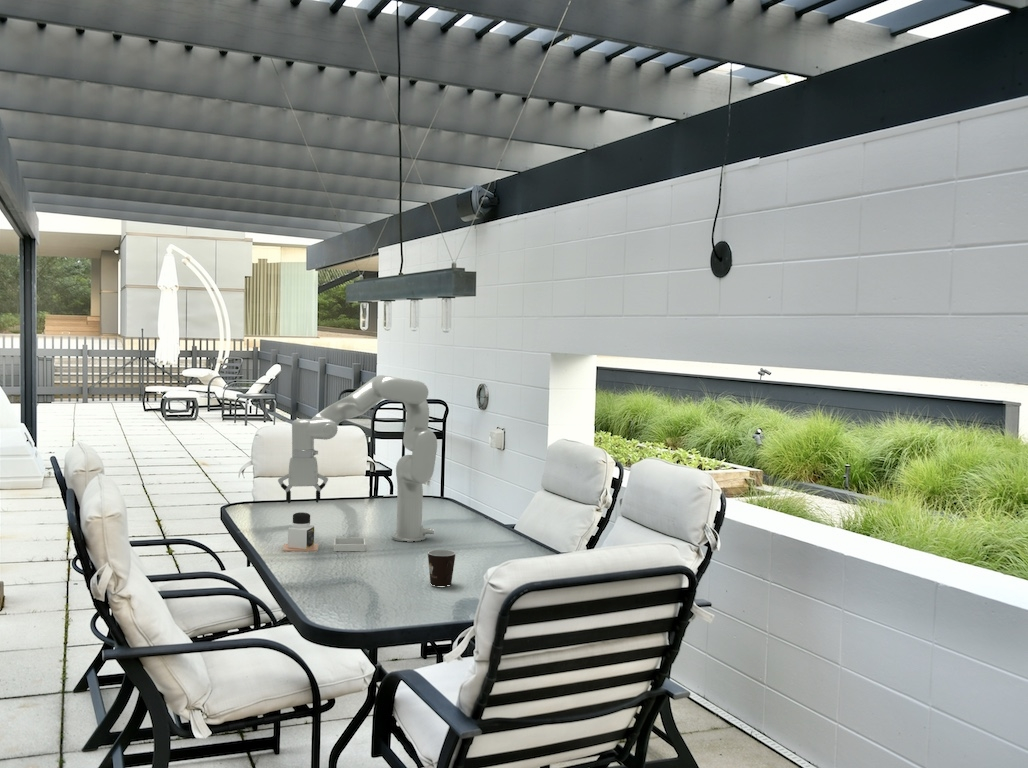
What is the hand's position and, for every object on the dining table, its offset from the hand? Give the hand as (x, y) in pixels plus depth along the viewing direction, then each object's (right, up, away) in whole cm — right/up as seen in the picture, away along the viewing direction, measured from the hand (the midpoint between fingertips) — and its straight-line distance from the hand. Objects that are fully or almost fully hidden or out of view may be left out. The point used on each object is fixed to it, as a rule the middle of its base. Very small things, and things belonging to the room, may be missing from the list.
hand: (303, 502), depth 332 cm
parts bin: (+16, -17, +3) cm, 23 cm away
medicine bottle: (-1, -16, 0) cm, 16 cm away
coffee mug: (+52, -21, -43) cm, 71 cm away
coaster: (-1, -17, +1) cm, 17 cm away
